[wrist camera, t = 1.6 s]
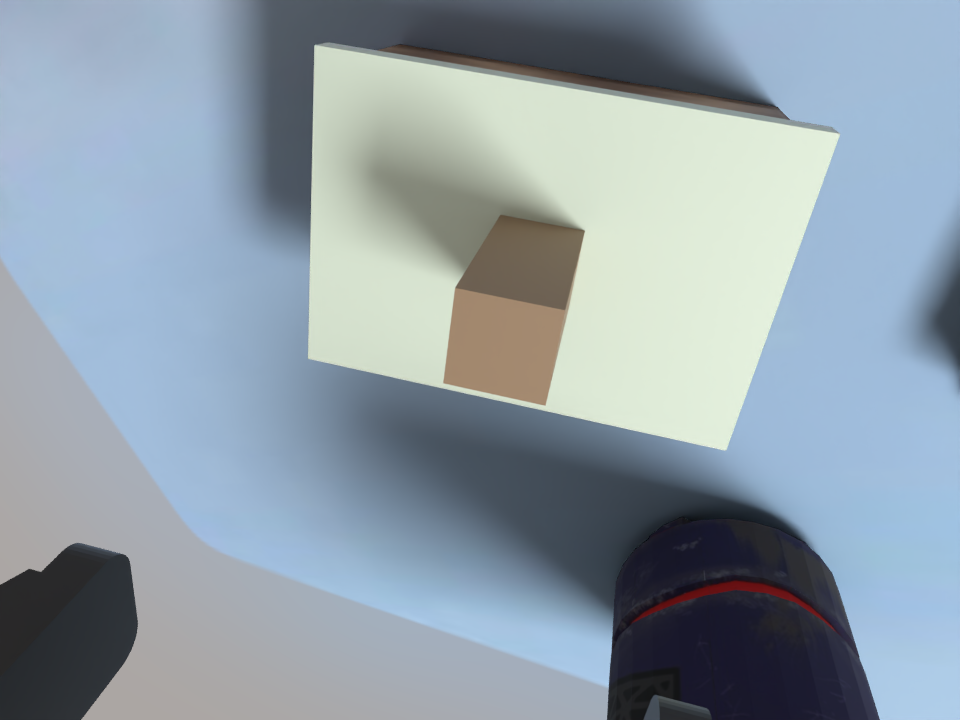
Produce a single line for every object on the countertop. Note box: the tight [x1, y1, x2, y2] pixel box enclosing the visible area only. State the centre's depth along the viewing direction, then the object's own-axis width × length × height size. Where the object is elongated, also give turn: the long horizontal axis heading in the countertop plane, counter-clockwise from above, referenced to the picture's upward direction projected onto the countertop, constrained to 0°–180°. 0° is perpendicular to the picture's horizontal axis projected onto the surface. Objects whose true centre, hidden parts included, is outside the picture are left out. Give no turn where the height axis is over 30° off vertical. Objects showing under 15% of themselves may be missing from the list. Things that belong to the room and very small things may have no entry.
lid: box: [308, 42, 840, 451], centre depth 24 cm, size 17×12×9 cm
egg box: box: [377, 44, 790, 120], centre depth 30 cm, size 16×11×7 cm
